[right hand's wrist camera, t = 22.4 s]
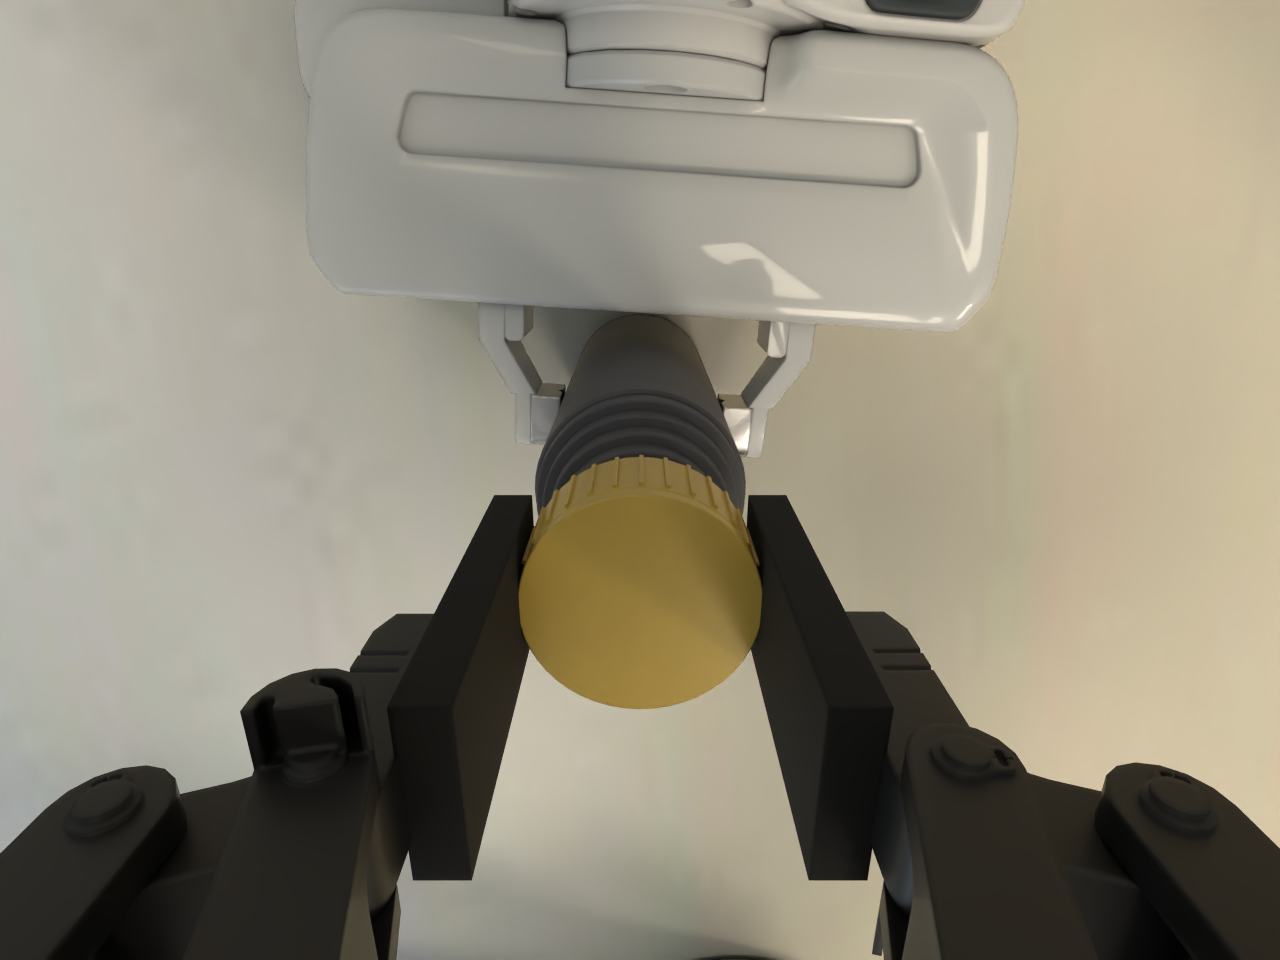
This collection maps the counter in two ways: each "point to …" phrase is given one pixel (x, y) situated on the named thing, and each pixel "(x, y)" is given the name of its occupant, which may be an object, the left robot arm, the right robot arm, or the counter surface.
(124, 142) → the counter surface
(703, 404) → the bottle
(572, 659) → the cap
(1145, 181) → the counter surface
